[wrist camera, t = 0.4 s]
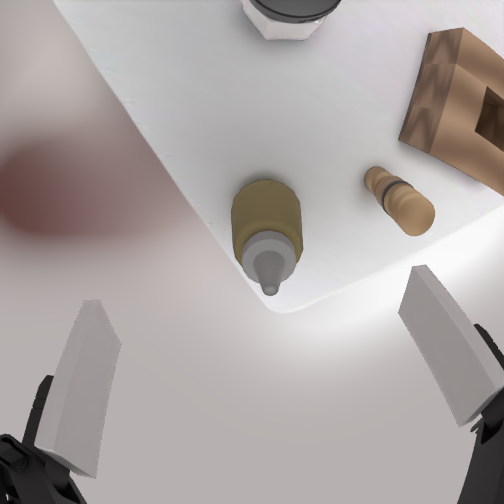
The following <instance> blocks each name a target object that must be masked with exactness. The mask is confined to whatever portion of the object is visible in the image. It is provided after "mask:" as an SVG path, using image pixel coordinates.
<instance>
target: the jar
mask: <svg viewBox="0 0 504 504" xmlns="http://www.w3.org/2000/svg"><path fill="white" fill-rule="evenodd" d="M340 1H341V0H242V4H243V10H244V12H245V14H246V15H247V16H248V17H249V19H250V20H251V21H252V23H253V24H254V25H255V26H256V28H257V29H258V30H259V32H260V33H261V34H262V36H263V37H264V38H265V39H266V40H274V39H293V40H305V39H307V38H308V37H309V36H310V35H311V34H312V33H313V32H314V31H315V30H316V29H317V28H318V27H319V26H320V25H321V24H322V23H323V21H324V19H325V18H326V16H327V15H328V14H329V13H331V12H332V11H333V10H334V9H335V8H336V7H337V5H338V4H339V3H340Z"/></svg>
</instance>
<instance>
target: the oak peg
mask: <svg viewBox="0 0 504 504" xmlns="http://www.w3.org/2000/svg"><path fill="white" fill-rule="evenodd" d="M365 185H366V187H367V188H368V189H369V190H370V191H371V192H372V193H373V194H374V195H375V196H376V199H377V201H378V203H379V204H380V205H381V206H382V207H383V209H384V211H385V212H386V213H387V214H388V215H389V216H391V217H392V218H393V220H394V221H395V222H396V223H397V224H398V225H399V226H400V228H401V229H402V230H403V231H404V232H405V233H406V234H408V235H410V236H419V235H421V234H423V233H425V232H426V231H427V230H428V229H429V228H430V227H431V225H432V223H433V221H434V218H435V210H434V206H433V204H432V203H431V202H430V201H429V200H428V199H426V198H425V197H424V196H423V195H422V194H420V193H419V192H418V191H416V190H415V189H414V188H413V187H412V186H411V185H410V184H409V183H407V182H406V181H403V180H402V179H401V178H399V177H397V176H393V175H391V174H390V173H389V172H387V171H386V170H385V169H383V168H382V167H373V168H371V169H369V170H368V171H367V173H366V175H365Z"/></svg>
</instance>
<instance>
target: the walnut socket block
mask: <svg viewBox="0 0 504 504" xmlns="http://www.w3.org/2000/svg"><path fill="white" fill-rule="evenodd" d="M398 140H400V141H402V142H405V143H407V144H409V145H411V146H413V147H415V148H417V149H419V150H421V151H424V152H426V153H428V154H430V155H432V156H434V157H436V158H438V159H440V160H442V161H443V162H445V163H447V164H449V165H451V166H453V167H455V168H457V169H459V170H460V171H462V172H464V173H466V174H468V175H469V176H471V177H473V178H475V179H476V180H478V181H480V182H481V183H483V184H485V185H486V186H488V187H490V188H491V189H493V190H495V191H496V192H498V193H499V194H501V195H502V196H504V59H503V58H502V57H501V56H499V55H498V54H497V53H496V52H495V51H494V50H492V49H491V48H490V47H489V46H487V45H486V44H485V43H484V42H482V41H481V40H480V39H479V38H477V37H476V36H475V35H473V34H472V33H471V32H469V31H468V30H466V29H465V28H464V27H463V28H456V29H450V30H444V31H439V32H433V33H429V34H428V38H427V43H426V47H425V51H424V55H423V59H422V63H421V66H420V70H419V74H418V78H417V81H416V85H415V88H414V92H413V95H412V98H411V102H410V105H409V108H408V111H407V115H406V118H405V121H404V124H403V127H402V130H401V133H400V136H399V139H398Z"/></svg>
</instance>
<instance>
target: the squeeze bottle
mask: <svg viewBox="0 0 504 504" xmlns="http://www.w3.org/2000/svg"><path fill="white" fill-rule="evenodd" d="M231 222H232V241H233V249H234V254H235V258H236V260H237V261H238V262H239V264H240V265H241V266H242V268H243V271H244V272H245V273H246V275H247V276H248V277H249V278H250V279H252V280H253V281H255V282H257V283H260V285H261V288H262V290H263V292H264V294H266V295H268V296H273V295H275V294H276V293H277V292H278V290H279V286H280V282H282V281H284V280H286V279H287V278H288V277H289V276H290V275H291V274H292V273H293V271H294V269H295V266H296V263H297V262H298V261H299V259H300V257H301V254H302V251H303V238H302V223H301V211H300V202H299V200H298V199H297V197H296V195H295V193H294V192H293V191H292V190H291V189H290V188H288V187H287V186H285V185H284V184H283V183H280V182H276V181H272V180H262V181H255V182H252V183H251V184H249V185H247V186H245V187H244V188H242V189H241V190H240V192H239V193H238V194H237V196H236V197H235V198H234V201H233V205H232V209H231Z"/></svg>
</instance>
